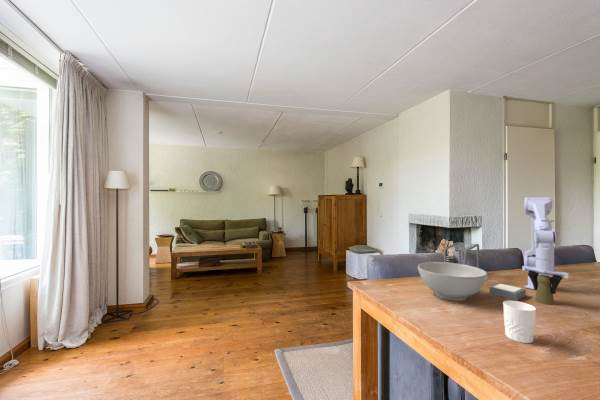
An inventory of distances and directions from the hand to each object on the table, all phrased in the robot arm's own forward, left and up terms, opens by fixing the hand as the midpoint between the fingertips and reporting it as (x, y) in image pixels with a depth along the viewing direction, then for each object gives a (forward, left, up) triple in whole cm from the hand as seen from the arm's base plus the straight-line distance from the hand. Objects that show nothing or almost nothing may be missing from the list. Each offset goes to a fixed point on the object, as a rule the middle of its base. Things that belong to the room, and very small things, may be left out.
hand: (544, 291), depth 112 cm
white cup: (+45, +6, -5) cm, 46 cm away
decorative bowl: (+26, -25, -5) cm, 36 cm away
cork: (0, 0, -5) cm, 5 cm away
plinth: (+3, -12, -4) cm, 13 cm away
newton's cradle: (-9, -37, -5) cm, 39 cm away
